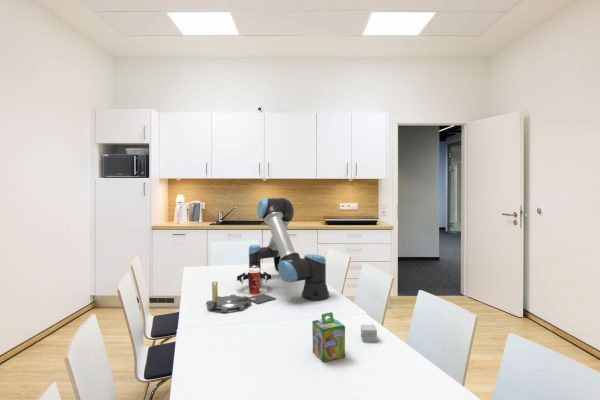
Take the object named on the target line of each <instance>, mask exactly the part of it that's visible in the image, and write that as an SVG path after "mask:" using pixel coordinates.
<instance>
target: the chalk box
mask: <svg viewBox="0 0 600 400" xmlns="http://www.w3.org/2000/svg"><path fill="white" fill-rule="evenodd" d="M326 317H327V318H326ZM311 322H312V323H311V324H312V327H311V328H312V330H311V331H312V333H311V334H312V353H314V354H315V355H316V356H317V357H318V358H319V359H320V360H321V361H322V362H323V363H324V362H328V361H333V360H337V359H342V358H345V357H346V326H345V325H344V324H343V323H341V322H340V321H339V320H338V319H335V318H334V314H333V312H326V313H322V314H321V319H317V320H313V321H311Z"/></svg>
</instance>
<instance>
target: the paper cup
mask: <svg viewBox="0 0 600 400" xmlns="http://www.w3.org/2000/svg"><path fill="white" fill-rule="evenodd" d="M261 271H262V270H260V269H259V268H250V269H249V268H248V269H247V274H248V279H247V280H248V288H249V294H250V295H259V294H260V291H261V290H260V289H261V288H260V287H261V278H260V272H261ZM261 273H262V272H261Z"/></svg>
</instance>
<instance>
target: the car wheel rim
mask: <svg viewBox="0 0 600 400" xmlns="http://www.w3.org/2000/svg"><path fill="white" fill-rule="evenodd" d="M280 258H281V257H280V256H278V257H274V258H273V262H274V263H273V264H274V267H275V270H276V271H277V272H278V264H279V260H280Z"/></svg>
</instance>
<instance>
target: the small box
mask: <svg viewBox="0 0 600 400" xmlns="http://www.w3.org/2000/svg"><path fill="white" fill-rule="evenodd" d="M360 337H361V341H362V342H363V343H377V342H378V331H377V328H376V326H375V324H361V325H360Z"/></svg>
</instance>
